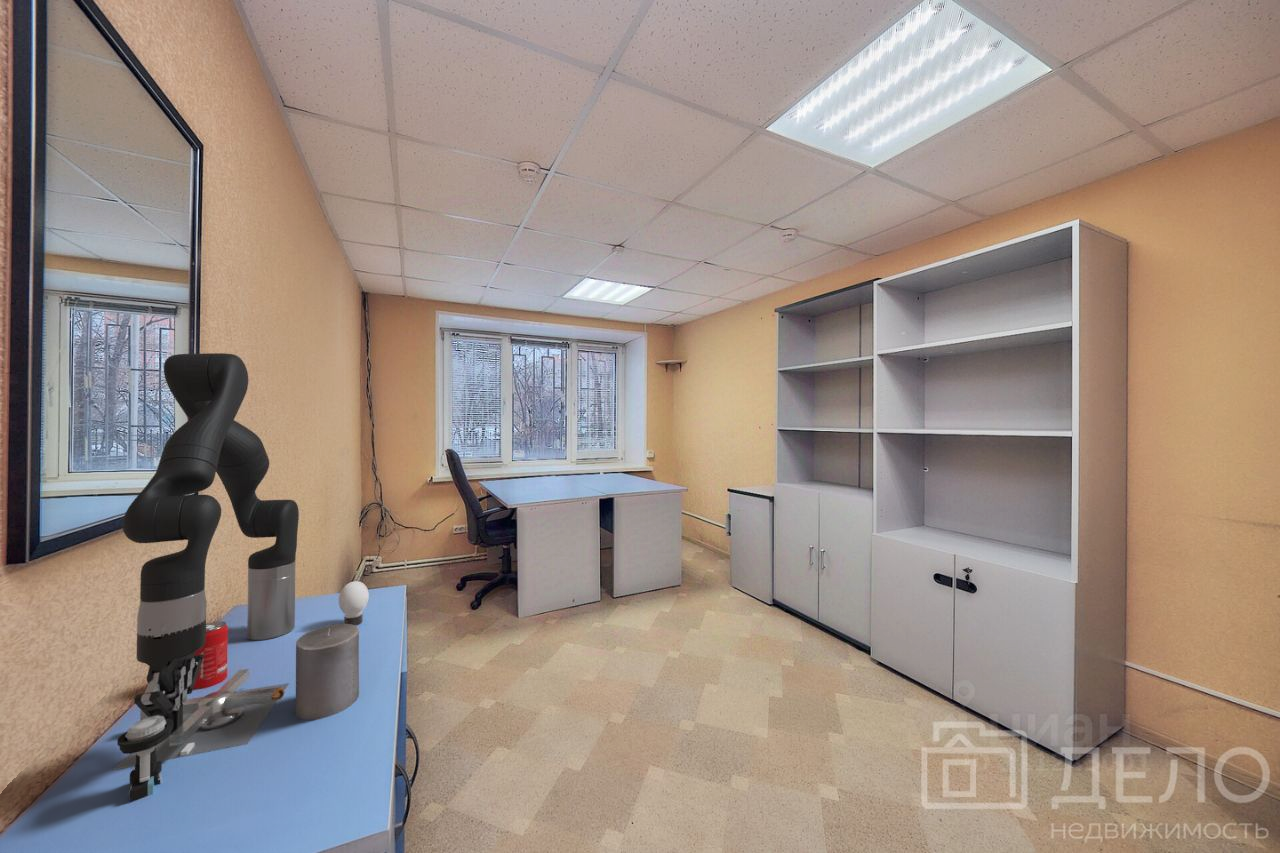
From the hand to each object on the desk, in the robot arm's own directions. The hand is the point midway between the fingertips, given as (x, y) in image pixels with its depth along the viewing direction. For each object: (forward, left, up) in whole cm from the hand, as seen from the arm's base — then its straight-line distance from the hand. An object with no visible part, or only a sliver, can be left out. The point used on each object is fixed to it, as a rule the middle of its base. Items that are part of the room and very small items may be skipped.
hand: (170, 732), depth 70 cm
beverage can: (-22, -5, -4) cm, 23 cm away
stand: (-7, +2, -4) cm, 8 cm away
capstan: (-7, +2, -3) cm, 8 cm away
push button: (+7, +1, -4) cm, 8 cm away
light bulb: (-45, +15, -4) cm, 48 cm away
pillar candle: (-6, +19, -4) cm, 21 cm away
